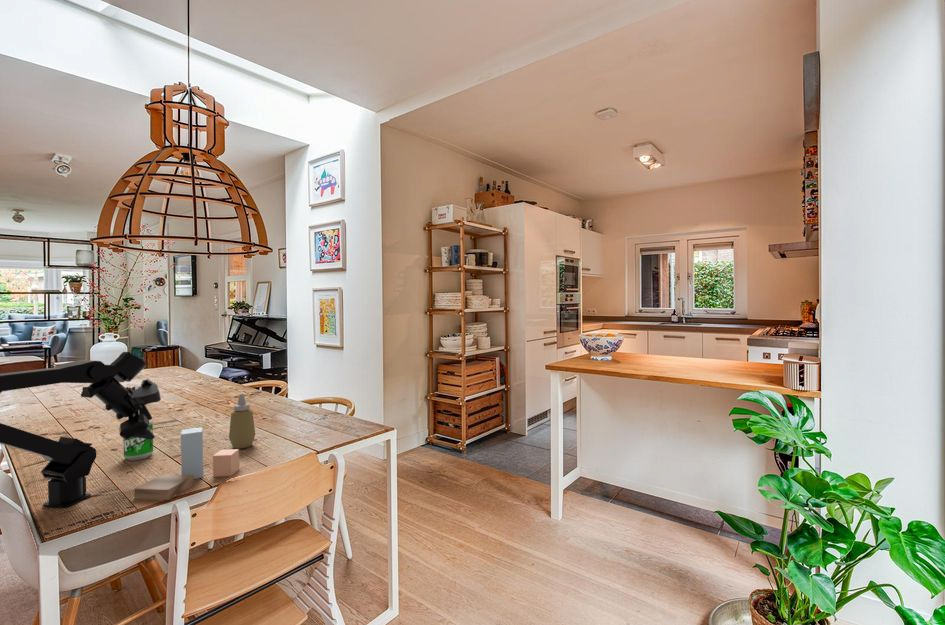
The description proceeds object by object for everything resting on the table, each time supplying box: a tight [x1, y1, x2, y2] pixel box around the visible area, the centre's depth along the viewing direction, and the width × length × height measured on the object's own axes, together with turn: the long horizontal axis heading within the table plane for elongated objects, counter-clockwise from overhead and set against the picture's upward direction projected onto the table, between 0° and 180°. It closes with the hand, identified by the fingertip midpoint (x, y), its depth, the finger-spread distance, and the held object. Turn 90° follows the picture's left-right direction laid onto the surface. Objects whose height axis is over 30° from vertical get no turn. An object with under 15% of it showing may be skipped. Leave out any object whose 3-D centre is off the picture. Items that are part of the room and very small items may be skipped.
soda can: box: [122, 419, 154, 461], centre depth 138 cm, size 8×8×12 cm
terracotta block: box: [212, 448, 240, 477], centre depth 125 cm, size 5×5×6 cm
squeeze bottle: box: [228, 393, 256, 450], centre depth 148 cm, size 8×8×18 cm
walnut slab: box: [133, 473, 195, 501], centre depth 113 cm, size 9×9×3 cm
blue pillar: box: [180, 426, 204, 480], centre depth 123 cm, size 5×5×13 cm
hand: (151, 428), depth 127 cm, fingers open, 9 cm apart
